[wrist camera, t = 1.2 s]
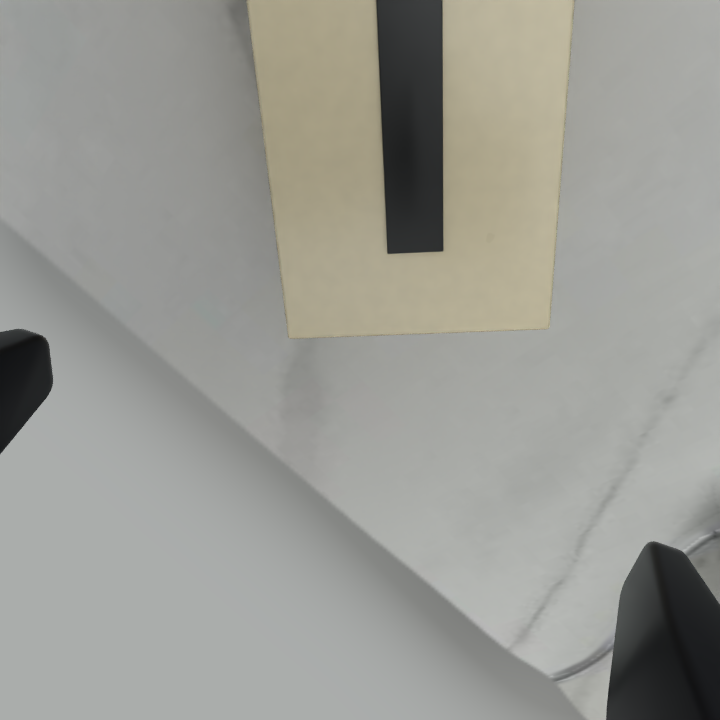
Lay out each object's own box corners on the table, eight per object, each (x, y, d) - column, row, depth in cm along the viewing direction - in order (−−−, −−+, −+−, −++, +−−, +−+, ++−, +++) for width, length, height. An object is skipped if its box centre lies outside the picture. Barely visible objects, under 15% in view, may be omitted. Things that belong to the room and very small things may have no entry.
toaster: (317, 245, 22) (286, 341, 15) (277, -181, 17) (207, -296, 10) (504, 236, 21) (550, 332, 15) (521, -203, 16) (603, -335, 10)
